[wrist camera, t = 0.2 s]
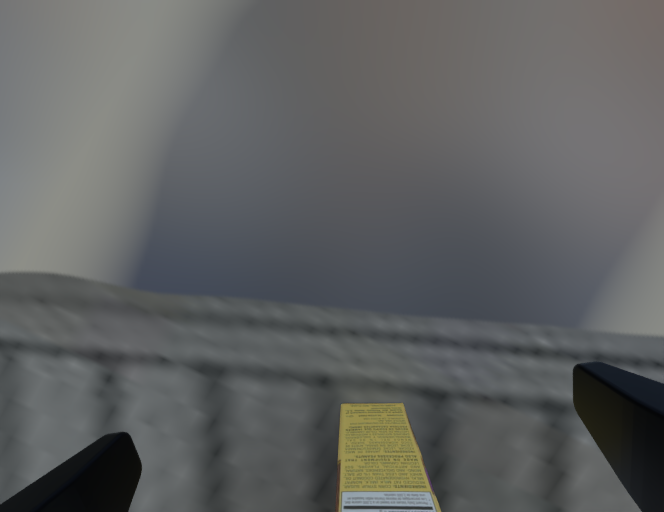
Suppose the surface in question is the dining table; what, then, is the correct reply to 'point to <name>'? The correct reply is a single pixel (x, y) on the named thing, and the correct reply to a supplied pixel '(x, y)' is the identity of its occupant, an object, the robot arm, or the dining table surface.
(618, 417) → the robot arm
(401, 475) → the candy box
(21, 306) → the dining table surface
